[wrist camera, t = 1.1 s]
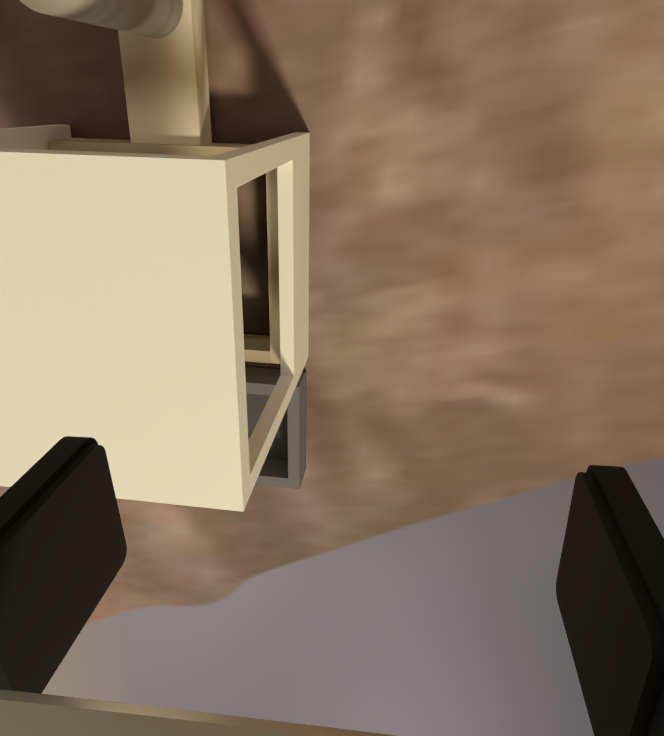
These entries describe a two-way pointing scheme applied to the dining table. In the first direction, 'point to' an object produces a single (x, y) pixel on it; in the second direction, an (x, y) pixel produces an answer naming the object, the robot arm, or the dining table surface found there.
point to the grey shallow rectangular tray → (290, 439)
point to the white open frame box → (142, 311)
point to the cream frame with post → (169, 105)
